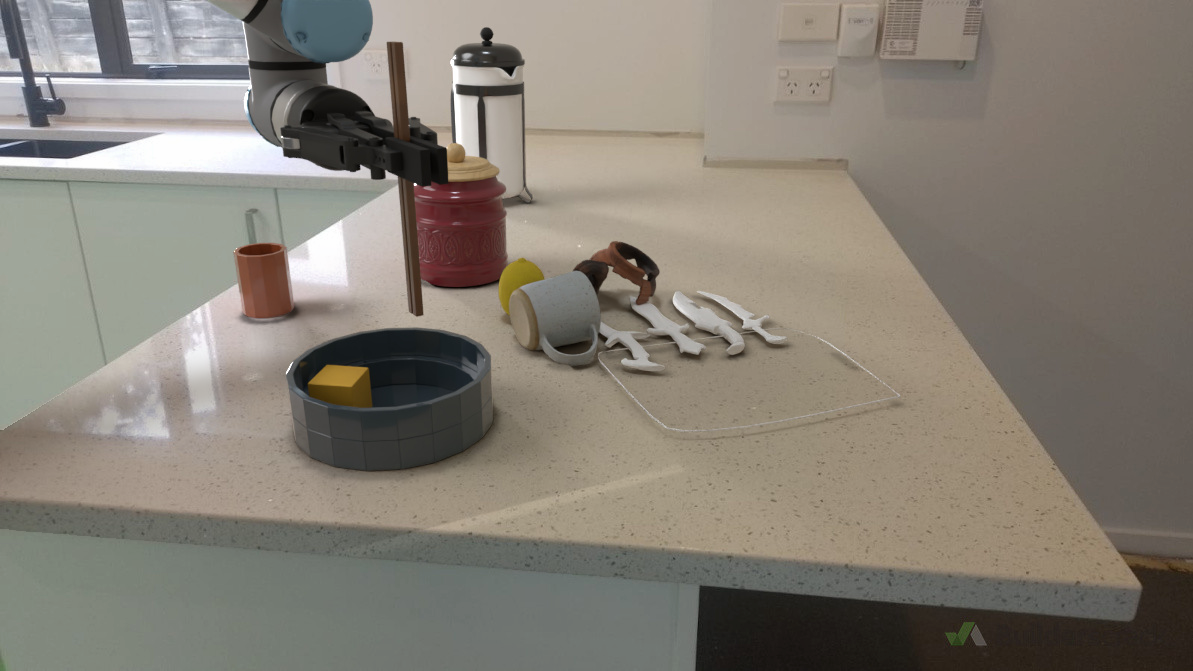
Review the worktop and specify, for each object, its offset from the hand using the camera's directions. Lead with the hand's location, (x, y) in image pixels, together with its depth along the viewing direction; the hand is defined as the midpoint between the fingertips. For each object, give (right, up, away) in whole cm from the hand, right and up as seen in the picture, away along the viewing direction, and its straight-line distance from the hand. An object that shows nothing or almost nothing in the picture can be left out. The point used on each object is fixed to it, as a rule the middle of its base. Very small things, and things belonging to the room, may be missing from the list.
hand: (434, 167), depth 63 cm
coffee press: (-8, +12, +92) cm, 93 cm away
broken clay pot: (+14, -9, +42) cm, 45 cm away
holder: (-27, -10, +37) cm, 47 cm away
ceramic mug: (+9, -14, +29) cm, 33 cm away
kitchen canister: (-6, -4, +52) cm, 53 cm away
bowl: (-6, -21, +12) cm, 25 cm away
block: (-11, -20, +13) cm, 26 cm away
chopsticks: (-3, -11, +9) cm, 14 cm away
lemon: (+4, -11, +36) cm, 38 cm away
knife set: (+25, -15, +29) cm, 40 cm away
